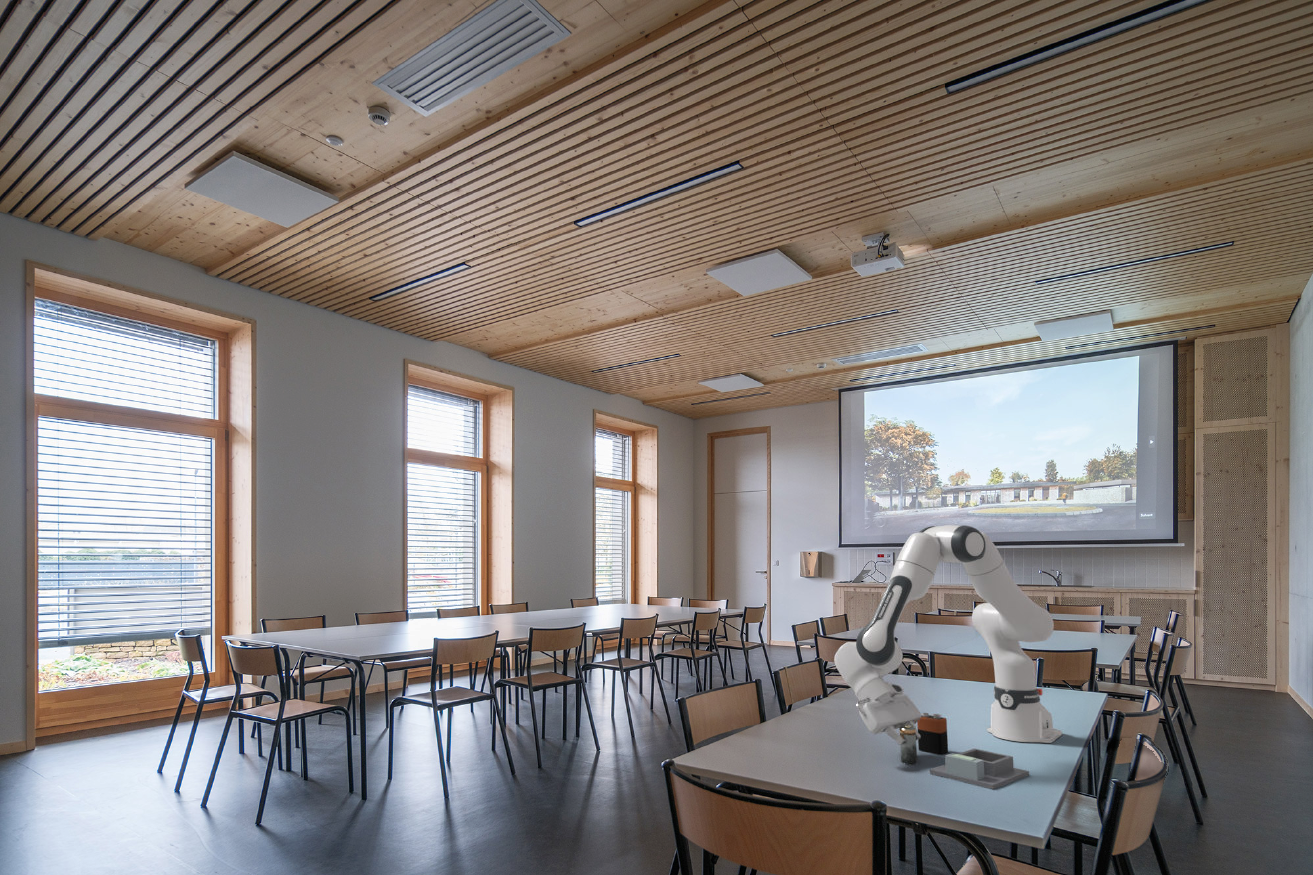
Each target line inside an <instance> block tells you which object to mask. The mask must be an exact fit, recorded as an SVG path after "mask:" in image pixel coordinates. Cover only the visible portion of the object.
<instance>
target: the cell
mask: <svg viewBox="0 0 1313 875" xmlns="http://www.w3.org/2000/svg"><path fill="white" fill-rule="evenodd" d="M898 729H899V735H902V736H903V737H904V738H905V740H906V742H905V743H904V744H902V745H899V748H900V763H901V762H902V763H901V764H904V763H905V765H909V764H910V765H913V766H915V765H918V754H917V753H918V752H917V740H916V729H917V727H916V728H914V727H911V726H910V725H904V726H902V727H900V728H898Z"/></svg>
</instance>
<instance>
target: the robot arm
mask: <svg viewBox="0 0 1313 875" xmlns="http://www.w3.org/2000/svg"><path fill="white" fill-rule="evenodd" d="M939 563H944V564H945V563H947V564H948V563H949V564H952V563H953V564H954V563H961V564H962V565H963V567H964V571H966V574H967V576H968V579H969V580H970V582H971V584H972V587H973V588H974V590H975V593H976V594H977V595H978V597H979V598H981V599H982V600H983V601H985V602H983V603H979V604H977V606H976V607H975V608H974V609H973V611H972V614H971V621H972V625H973V627H974V629H975V631H977V633H978V634H980V635H981V636H982V638H983V640H984V641H985V642H986V644H987V647H988V649H989V651H990V654H991V658H992V663H993V668H994V669H993V670H994V681H995V682H994V683H995V684H994V688H993V693H994V699H995V700H994V701H993V703H991V707H990V708H991V710H990V727H989V726H988V727H987V730H986V731H987V732H988V733H990V734H992V735H993V736H995V737H996V738H999V739H1003V740H1007V741H1011V742H1012V741H1013V742H1021V743H1044V744H1045V743H1046V744H1052V743H1054V741H1056V740H1057V739H1058V738H1059V737H1061V736H1062V735H1063V732H1062V730H1059V729H1056V728H1054V725H1053V724H1054V722H1053V716H1052V713H1051V712H1049V710H1048V709H1047V708H1046V707H1045V706H1044V705H1043V704H1042V703H1041V697H1042V696H1043V694H1044V693H1043V689H1042V688H1037V684H1036V668H1035V663H1034V661H1033V658H1031V657H1030V656H1029V655H1027V653H1025V652H1024V650H1023V649H1022V647H1021V645H1020V642H1025V643H1038V642H1044V641H1045V642H1046V641H1047V640H1049V639H1050V638H1051V636H1052V634H1053V632H1054V628H1055V627H1054V624H1055V623H1054V618H1053V617H1052V615H1051V614H1050V612H1049V611H1048V610H1047V609H1045V608H1043V607H1041V606H1040V605H1038V604H1037V603H1035V601H1033V600H1032V599H1030V597H1029V596H1027V595H1026V593H1024V592H1023V590H1022V589H1021V588H1020V587H1019V586H1018V584H1016V582H1015V581H1014V578H1013V577H1012V576H1011V573H1010V571H1009V569H1008V567H1007V566H1006V563H1005V561H1004V559H1003V557H1002V555H1001V554H1000V552H999V550H998V548H997V547H996V545H995V544H994V542H993V541H992V540H991V538H990V536H988V534H986V533H985V532H983V531H982V530H978V529H977V528H975V527H973V526H969V525H957V524H945V525H938V526H937V525H936V526H934V525H931V526H927V527H924V528H923V529H921V530H919V532H915V533H912V534H911V535H910V536H909V537H908V538H907V540H906V541H905V543H904V544H903V546H902V549H901V550H900V552H899V554H898V557H897V558H896V561H895V564H894V567H893V569H892V572H891V575H890V578H889V582H888V584H887V586H886V588H885V590H884V592H883V595H882V597H881V599H880V601H879V603H878V606H877V607H876V610H875V612H874V615H873V616H872V618H871V619H870V621H869V622H868V623H867V624H866V625H865V627H863V629H861V631H859V633H858V635H857V638H856V641H847V642H845V643H843V644H842V645H840V646H839V648H838V649H837V650H836V651H835V655H834V658H833V660H834V665H835V667H836V669H837V671H838V672H839V674H840V676H841V677H842V679H843V681H844V682H845V683H846V684H847V686H849V687H851V689H852V690H853V691H854V693H855V696H856V698H857V699H858V700H856V701H857V702H856V708H857V710H858V711H859V716H860V717H861V719H862V721H863V722H864V724H865V726H866V727H867V729H868V730H869V732H870V733H872V734H873V735H877V734H882V733H886V735H887V736H889V738H891V739H893V740H894V741H895V742H896V744H897V745H898V746H900V745H902V744H904V743H905V742H906V740H905V738H904V737H903V736H902V735H900V733H898V732H897V731H896V730H897V729H899V728H900V727H902V726H904V725H910V726H911V727H914V728H916V741H918V739H919V738H920V737H921V736H920V735H919V733H918V728H917V727H916V723H917V722H918V721H919V720H920V718H921V714H922V713H921V712H920V710H919V709H918V708H917V706H916V705H915V703H914V702H913V700H912V699H911V698H910V697H909V696H908V695H906V694H905V690H904V688H903V687H902V686H901V685H898V684H895V683H891V682H888V681H886V680H885V679H884V678H883V677H885V676H887V675H889V674H891V673H893V672H894V671H896V670H898V668H900V666H901V665H902V663H903V659H904V655H903V653H904V652H903V650H902V648H901V646H900V645H899V643H898V642H897V641H896V640H895V632H896V628H897V625H898V623H899V620H900V619H901V616H902V613H903V611H904V609H905V607H906V606H907V604H908V603H909V602H911V601H917V600H919V599H922V598H923V597H925V596H926V594H927V592H928V591H929V589H930V587H931V585H932V583H933V581H934V578H935V576H936V572H937V568H938V565H939ZM1040 696H1041V697H1040Z"/></svg>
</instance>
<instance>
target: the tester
mask: <svg viewBox="0 0 1313 875" xmlns="http://www.w3.org/2000/svg"><path fill="white" fill-rule="evenodd" d="M944 761H945V762H944V763H945V764H943V765H940V766H937V767H933V768H930V769H929V774H930V773H931V774H930V775H934V776H937V775H938V776H937V777H941V776H943V777H942V778H945V777H946V779H949V778H950V780H953V779H954V781H957V780H958V782H962V783H965V782H966V784H968V785H969V784H970V785H973V784H974V786H977V787H981V786H982V787H981V788H985V789H989V790H995V789H998V788H1001V787H1003V786H1006V785H1008V784H1011V783H1013V782H1016V781H1018V780H1020V779H1023V778H1026V777H1028V776H1030V771H1029V770H1026V769H1021V768H1017V767H1014V766H1015V765H1014V756H1011V755H1006V754H1002V753H998V752H992V751H988V750H984V749H980V748H972V749H969V750H965V751H963V752H959V753H954V752H952V753H949V754H946V755H945V756H944Z"/></svg>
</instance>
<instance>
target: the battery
mask: <svg viewBox="0 0 1313 875" xmlns="http://www.w3.org/2000/svg"><path fill="white" fill-rule="evenodd" d="M917 732H918V733H919V735H920V736H921V737H920V738H919V739H918V740H917V744H918V745H917V747H918V751H920V750H921V751H920V752H925V753H929V752H930V754H936V755H939V754H942V755H944V754H947V753H949V744H948V743H949V741H948V723H947V718H946V717H942V714H939V713H933V714H931V715H930V714H929V713H928V712H922V715H921V718H920V720H919V721H918V722H917Z"/></svg>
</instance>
